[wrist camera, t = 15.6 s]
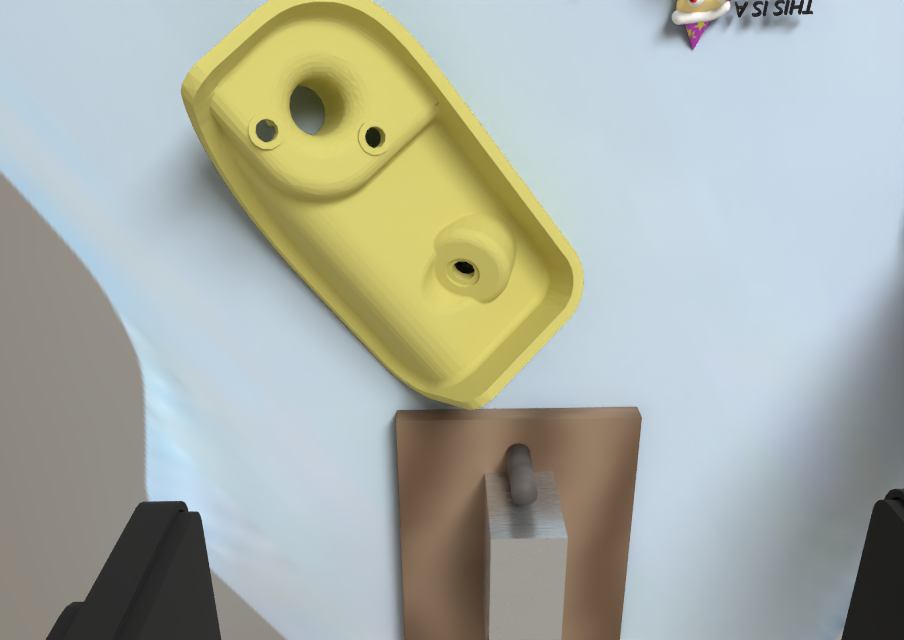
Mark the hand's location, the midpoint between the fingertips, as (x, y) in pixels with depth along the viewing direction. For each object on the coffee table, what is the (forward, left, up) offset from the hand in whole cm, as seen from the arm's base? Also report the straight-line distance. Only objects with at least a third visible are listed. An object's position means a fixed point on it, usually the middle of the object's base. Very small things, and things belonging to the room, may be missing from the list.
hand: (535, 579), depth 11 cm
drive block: (-3, +25, -31) cm, 40 cm away
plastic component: (+4, +3, -33) cm, 33 cm away
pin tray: (-3, +25, -32) cm, 41 cm away
